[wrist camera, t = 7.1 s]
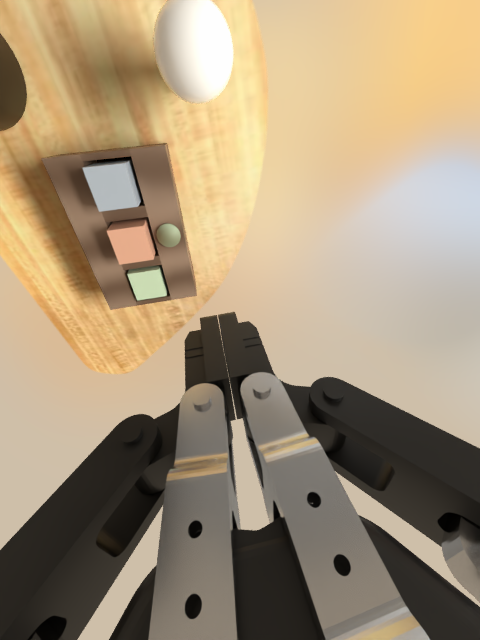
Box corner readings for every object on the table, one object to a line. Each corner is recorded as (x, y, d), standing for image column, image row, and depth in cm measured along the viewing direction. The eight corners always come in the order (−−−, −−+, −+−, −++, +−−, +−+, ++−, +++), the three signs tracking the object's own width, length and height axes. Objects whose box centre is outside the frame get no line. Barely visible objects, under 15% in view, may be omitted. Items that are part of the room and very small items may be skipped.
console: (60, 154, 30) (39, 158, 25) (167, 143, 31) (164, 145, 27) (117, 291, 40) (110, 310, 36) (195, 279, 42) (196, 296, 37)
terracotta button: (114, 219, 32) (106, 230, 29) (147, 215, 33) (143, 225, 29) (125, 250, 35) (119, 264, 31) (156, 246, 35) (153, 259, 31)
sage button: (132, 260, 37) (127, 274, 33) (161, 256, 37) (159, 269, 34) (141, 285, 39) (137, 300, 36) (168, 280, 40) (166, 295, 36)
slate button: (94, 163, 29) (82, 167, 25) (131, 159, 29) (125, 163, 25) (108, 202, 31) (99, 211, 27) (142, 197, 31) (138, 206, 28)
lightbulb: (171, 114, 29) (166, 108, 21) (150, 32, 25) (134, -19, 17) (226, 103, 30) (245, 92, 21) (214, 20, 26) (231, -35, 17)
